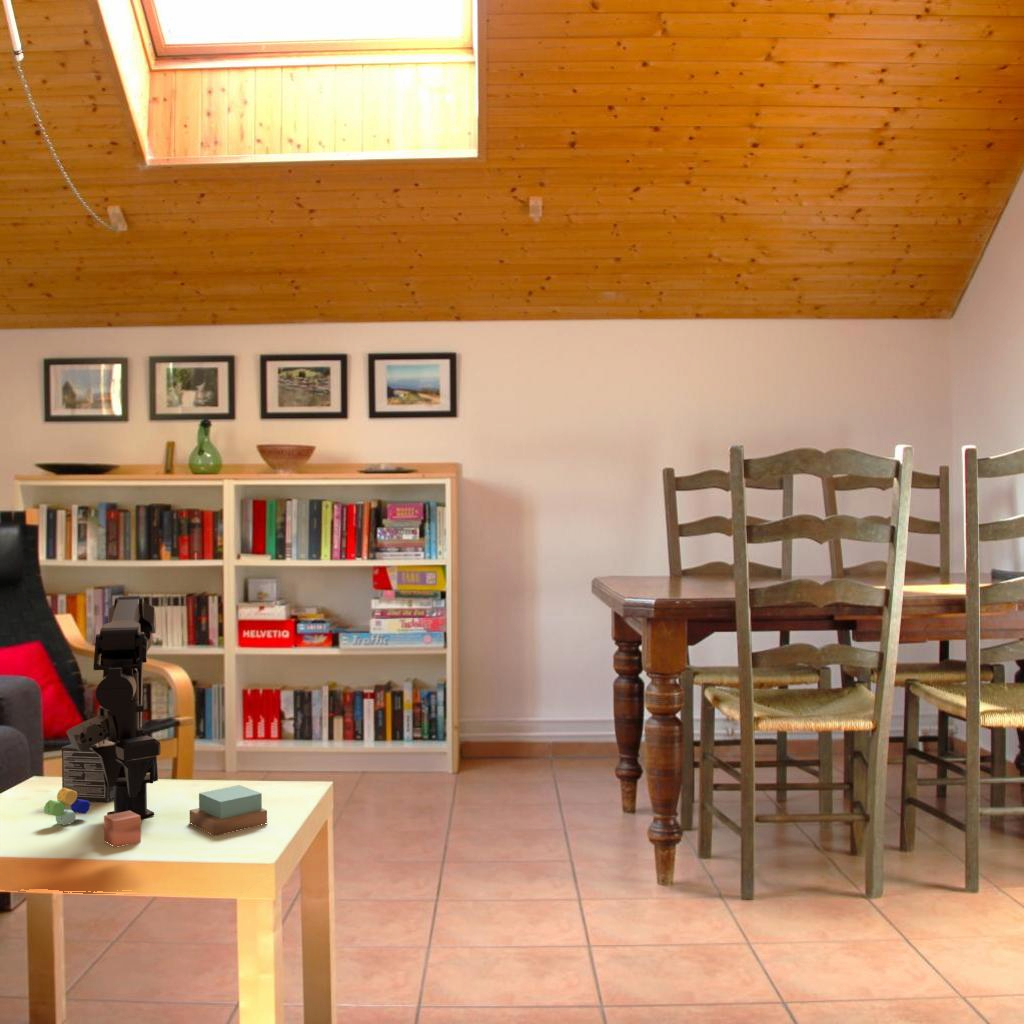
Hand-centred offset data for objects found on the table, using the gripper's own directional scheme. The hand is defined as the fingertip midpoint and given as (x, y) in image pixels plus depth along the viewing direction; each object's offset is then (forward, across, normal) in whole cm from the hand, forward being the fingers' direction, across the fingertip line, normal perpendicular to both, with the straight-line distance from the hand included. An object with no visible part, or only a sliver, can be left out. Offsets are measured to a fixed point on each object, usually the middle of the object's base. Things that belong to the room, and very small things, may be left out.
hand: (122, 791), depth 178 cm
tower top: (+6, +3, +18) cm, 19 cm away
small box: (+9, -32, +7) cm, 34 cm away
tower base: (+9, +3, +18) cm, 20 cm away
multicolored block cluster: (+9, -18, -3) cm, 20 cm away
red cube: (+9, 0, 0) cm, 9 cm away
